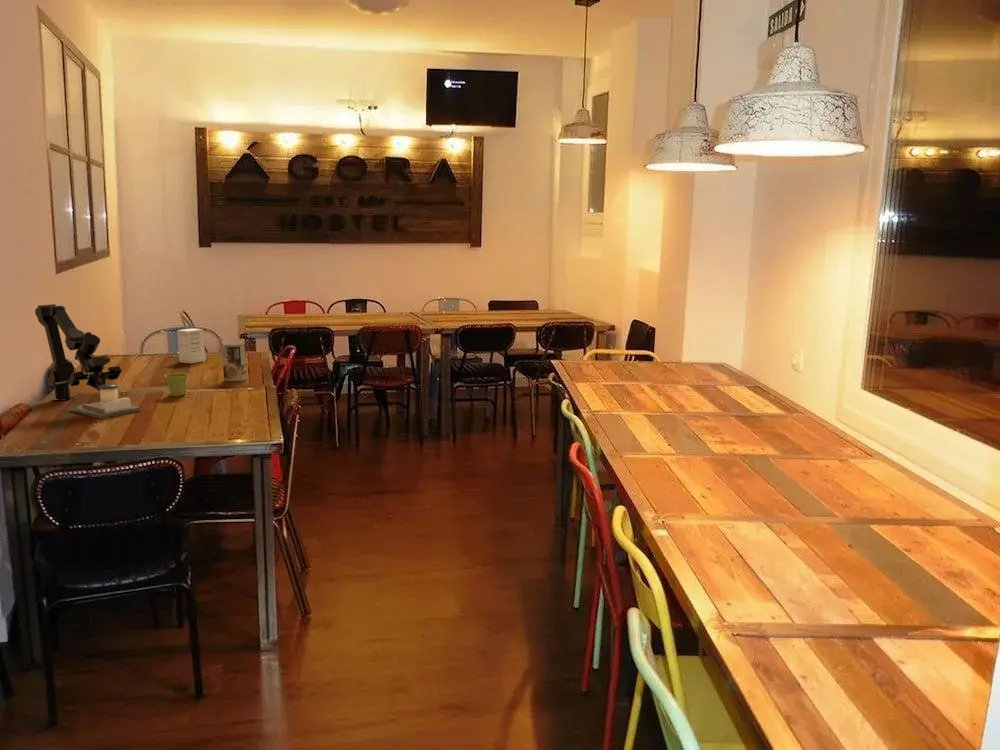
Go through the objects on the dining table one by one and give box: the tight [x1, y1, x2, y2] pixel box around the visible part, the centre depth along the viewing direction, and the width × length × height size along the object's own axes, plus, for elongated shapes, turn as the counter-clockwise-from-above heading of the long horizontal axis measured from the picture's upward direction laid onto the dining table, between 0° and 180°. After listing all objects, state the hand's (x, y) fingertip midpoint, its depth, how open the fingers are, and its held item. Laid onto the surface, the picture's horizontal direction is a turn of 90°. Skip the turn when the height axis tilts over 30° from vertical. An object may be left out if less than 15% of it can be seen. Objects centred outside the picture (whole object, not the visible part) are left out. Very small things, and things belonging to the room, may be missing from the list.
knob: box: [98, 383, 119, 402], centre depth 315 cm, size 7×7×9 cm
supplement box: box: [176, 327, 207, 364], centre depth 424 cm, size 10×9×17 cm
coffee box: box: [220, 344, 248, 382], centre depth 377 cm, size 9×6×16 cm
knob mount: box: [70, 397, 141, 420], centre depth 318 cm, size 22×16×6 cm
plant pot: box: [164, 372, 189, 397], centre depth 346 cm, size 9×9×9 cm
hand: (104, 392), depth 316 cm, fingers closed, pressing on knob
